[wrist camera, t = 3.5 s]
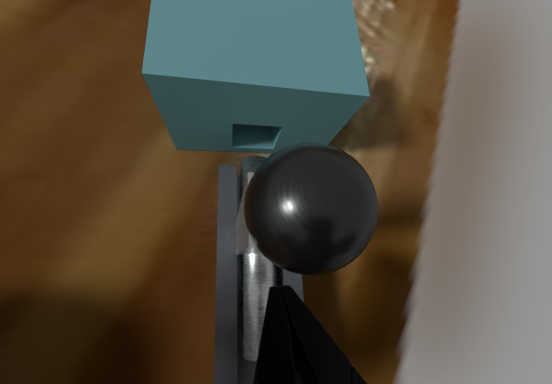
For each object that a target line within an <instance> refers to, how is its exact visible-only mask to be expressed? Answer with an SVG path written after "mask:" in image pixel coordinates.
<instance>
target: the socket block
mask: <svg viewBox="0 0 552 384" xmlns="http://www.w3.org/2000/svg"><path fill="white" fill-rule="evenodd" d="M142 75H143V77H144V79H145V81H146V83H147V86H148V88H149V90H150V92H151V94H152V96H153V99H154V101H155V103H156V105H157V107H158V110H159V112H160V114H161V116H162V118H163V121H164V123H165V125H166V127H167V129H168V131H169V134H170V136H171V138H172V140H173V142H174V145H175V147H176V149H183V150H207V151H231V152H254V153H275V152H277V151H278V150H280V149H283V148H285V147H287V146H290V145H294V144H298V143H307V142H315V143H323V144H327V145H328V144H329V143H330V142H331V141H332V139H333V138H334V137H335V136H336V135H337V134H338V133H339V131H340V130H341V129H342V128H343V127H344V126H345V125H346V123H347V122H348V121H349V120H350V119H351V118H352V116H353V115H354V114H355V113H356V112H357V111H358V110H359V108H360V107H361V106H362V105H363V104H364V103H365V102H366V100H367V99H368V98H369V97H370V94H369V88H368V83H367V78H366V72H365V67H364V61H363V56H362V51H361V45H360V40H359V34H358V29H357V24H356V18H355V13H354V7H353V2H352V0H151V7H150V15H149V23H148V30H147V38H146V45H145V53H144V61H143V68H142Z"/></svg>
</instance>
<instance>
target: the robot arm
mask: <svg viewBox="0 0 552 384" xmlns="http://www.w3.org/2000/svg"><path fill="white" fill-rule="evenodd" d="M253 384H367V383H366V382H365V380H364V379H363V378H362V377H361V375H360V374H359V373H358V372H357V370H356V369H355V368H354V367H352V364H351V363H350V361H349V360H348V359H347V358H346V356H345V355H344V354H343V352H342V351H341V350H340V349H339V347H338V346H337V345H336V343H335V342H334V341H333V340H332V338H331V337H330V336H329V334H328V333H327V332H326V331H325V329H324V328H323V327H322V325H321V324H320V323H319V322H318V320H317V319H316V318H315V317H314V315H313V314H312V313H311V311H310V310H309V309H308V308H307V306H306V305H305V304H304V302H303V301H302V300H301V299H300V297H299V296H298V295H297V293H296V292H295V291H294V290H293V288H292V287H291V286H290V285H283V286H280V287H279V286H271V287H270V288H269V293H268V298H267V304H266V310H265V316H264V322H263V327H262V333H261V339H260V345H259V351H258V357H257V362H256V368H255V374H254V380H253Z"/></svg>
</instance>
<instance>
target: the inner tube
mask: <svg viewBox="0 0 552 384" xmlns="http://www.w3.org/2000/svg"><path fill="white" fill-rule="evenodd" d="M377 217H378V203H377V196H376V192H375V188H374V186H373V183H372V181H371V179H370V177H369V175H368V174H367V172H366V171H365V169H364V168H363V167H362V166H361V165H360V164H359V163H358V161H357V160H355V159H354V158H353V157H352V156H351V155H349V154H347V153H346V152H344V151H342V150H340V149H338V148H336V147H333V146H330V145H327V144H323V143H315V142H307V143H298V144H294V145H290V146H287V147H285V148H283V149H280V150H278V151H277V152H275V153H273V154H272V155H271V156H269V157H268V158H265V157H260V156H253V157H247V158H245V159H243V160H242V161H241V203H240V208H239V212H238V216H237V221H236V255H241V263H242V357H243V358H244V359H246V360H249V361H255V362H257V357H258V351H259V345H260V339H261V333H262V327H263V322H264V316H265V310H266V304H267V298H268V293H269V288H270V287H271V286H277V276H276V265H277V266H278V267H280V268H283V269H285V270H287V271H289V272H293V273H296V274H302V275H321V274H327V273H330V272H334V271H336V270H338V269H341V268H343V267H345V266H346V265H348V264H349V263H351V262H352V261H353V260H355V259H356V258H357V257H358V256H359V255H360V254H361V253H362V252H363V250H364V249H365V248H366V247H367V245H368V243H369V242H370V240H371V238H372V235H373V233H374V231H375V227H376V223H377Z"/></svg>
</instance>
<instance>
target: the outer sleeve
mask: <svg viewBox="0 0 552 384" xmlns="http://www.w3.org/2000/svg"><path fill="white" fill-rule="evenodd" d="M240 203H241V176H239V175H237V165H227V164H219V171H218V220H217V270H216V319H215V369H214V384H253V380H254V374H255V368H256V362H255V361H249V360H246V359H244V358H243V357H242V263H241V255H236V221H237V216H238V212H239V208H240ZM276 276H277V286H279V287H280V286H283V285H290V286H291V287H292V288H293V290H294V291H295V292H296V293H297V295H298V296H299V297H300V299H301V300H302V301H303V302H304V298H303V284H302V274H296V273H293V272H289V271H287V270H285V269H283V268H280V267H278V266H277V265H276Z"/></svg>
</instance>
